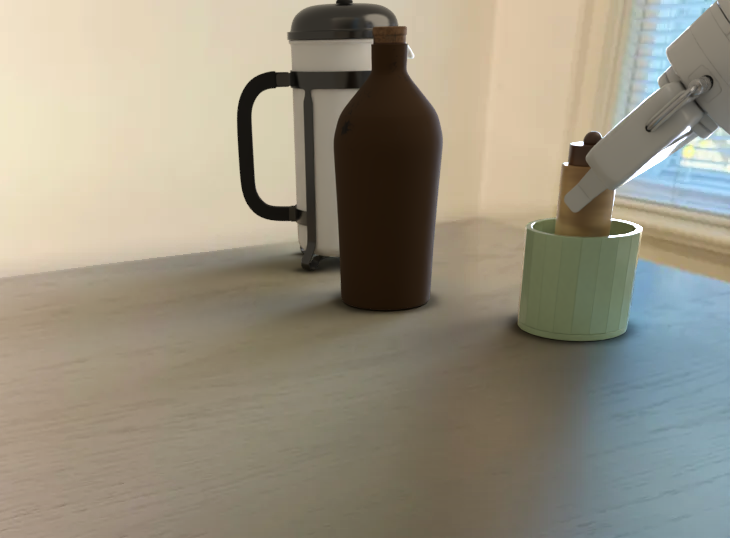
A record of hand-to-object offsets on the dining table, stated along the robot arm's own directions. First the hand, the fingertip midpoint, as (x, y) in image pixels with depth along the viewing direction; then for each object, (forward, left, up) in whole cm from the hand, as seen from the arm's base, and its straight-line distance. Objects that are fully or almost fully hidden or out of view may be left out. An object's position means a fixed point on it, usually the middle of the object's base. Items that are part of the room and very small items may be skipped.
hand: (579, 200), depth 79 cm
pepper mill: (0, 0, -6) cm, 6 cm away
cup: (-1, 0, -11) cm, 11 cm away
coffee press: (+24, -27, -11) cm, 38 cm away
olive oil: (+17, -9, -11) cm, 23 cm away
